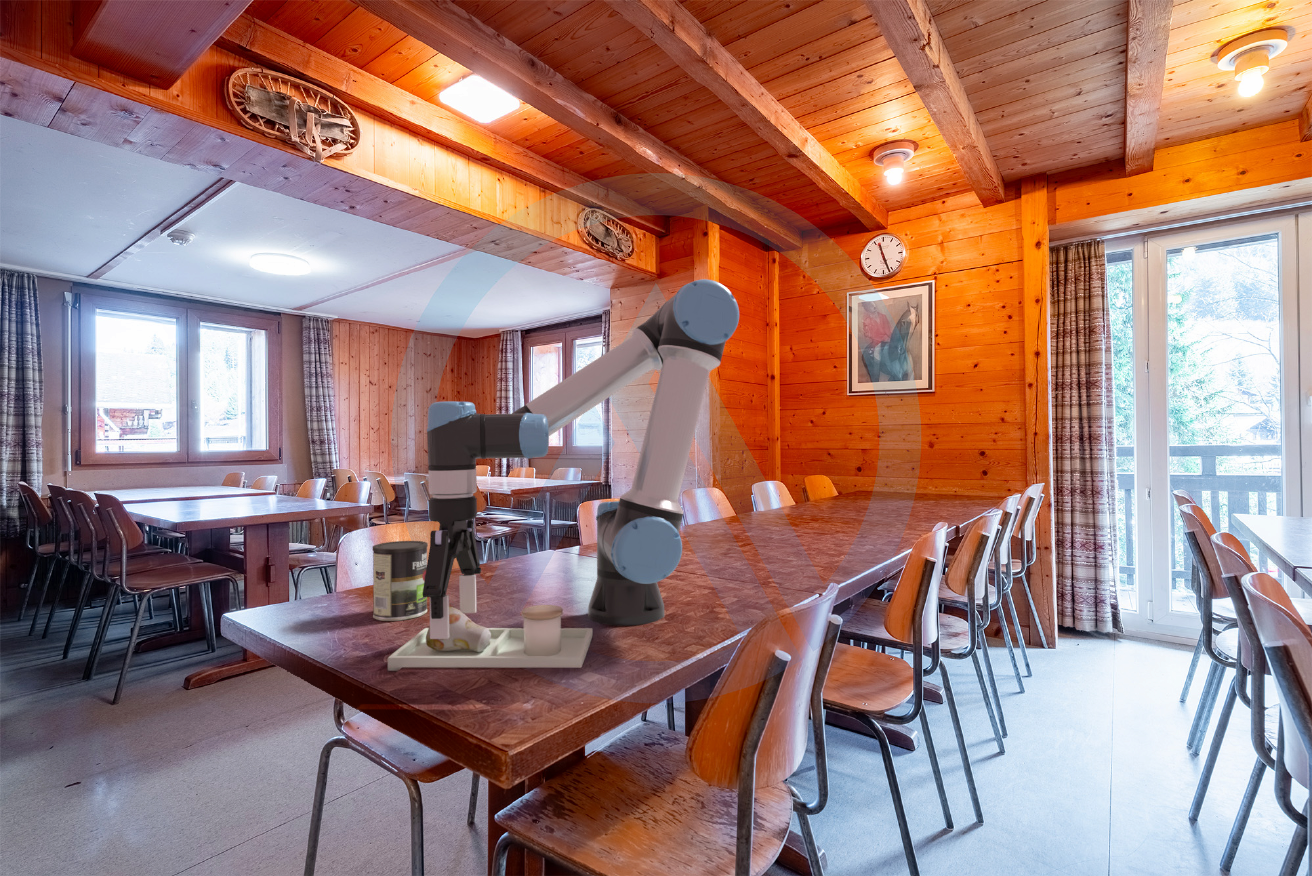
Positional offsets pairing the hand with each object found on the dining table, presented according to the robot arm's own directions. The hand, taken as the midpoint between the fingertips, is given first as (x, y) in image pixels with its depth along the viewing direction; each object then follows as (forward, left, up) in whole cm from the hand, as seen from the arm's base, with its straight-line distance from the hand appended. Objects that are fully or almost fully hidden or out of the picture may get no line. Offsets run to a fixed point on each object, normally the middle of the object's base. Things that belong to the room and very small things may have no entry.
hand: (455, 624), depth 99 cm
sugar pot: (-14, 0, -4) cm, 15 cm away
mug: (-1, 0, -4) cm, 4 cm away
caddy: (-7, 0, -5) cm, 9 cm away
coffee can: (+19, -23, -5) cm, 30 cm away
